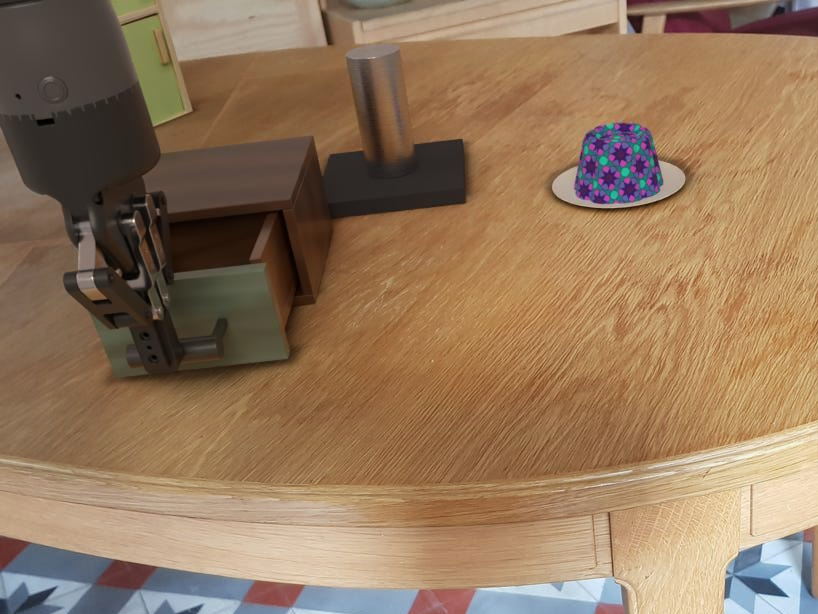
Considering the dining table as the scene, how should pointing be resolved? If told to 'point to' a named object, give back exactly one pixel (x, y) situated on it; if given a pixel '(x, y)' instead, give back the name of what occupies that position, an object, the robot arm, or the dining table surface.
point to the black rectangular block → (396, 182)
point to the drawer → (222, 294)
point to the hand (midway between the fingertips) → (166, 367)
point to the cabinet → (254, 194)
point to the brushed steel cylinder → (382, 110)
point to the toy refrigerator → (153, 58)
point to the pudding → (618, 170)
